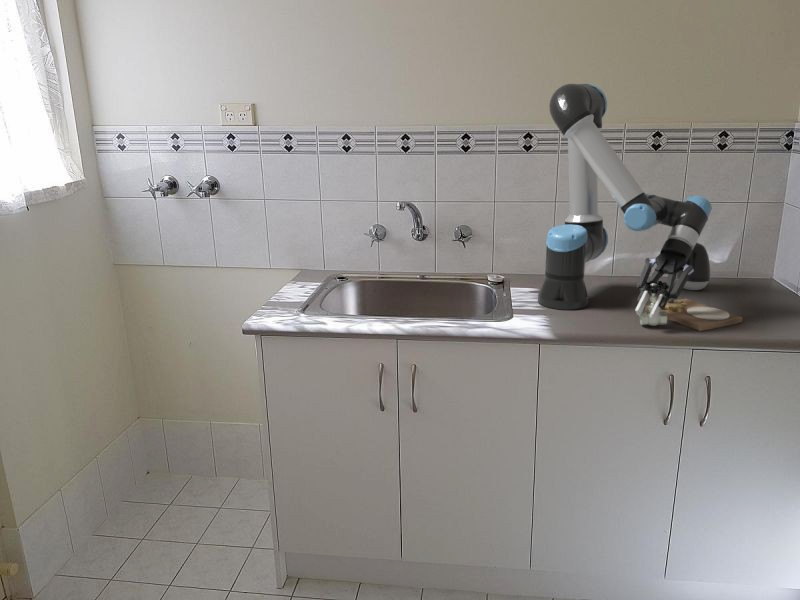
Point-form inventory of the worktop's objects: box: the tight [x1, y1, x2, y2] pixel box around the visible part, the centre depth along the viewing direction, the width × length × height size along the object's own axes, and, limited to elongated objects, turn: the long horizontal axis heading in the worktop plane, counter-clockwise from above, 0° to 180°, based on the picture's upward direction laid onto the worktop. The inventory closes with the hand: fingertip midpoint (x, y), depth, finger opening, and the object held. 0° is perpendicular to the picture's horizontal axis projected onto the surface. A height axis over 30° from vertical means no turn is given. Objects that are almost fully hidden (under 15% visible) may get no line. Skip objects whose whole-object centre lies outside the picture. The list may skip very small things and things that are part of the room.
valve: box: [639, 280, 668, 327], centre depth 175 cm, size 7×7×12 cm
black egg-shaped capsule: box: [676, 242, 711, 291], centre depth 209 cm, size 10×10×15 cm
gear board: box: [644, 298, 744, 332], centre depth 184 cm, size 20×16×4 cm
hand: (645, 314), depth 173 cm, fingers open, 4 cm apart
